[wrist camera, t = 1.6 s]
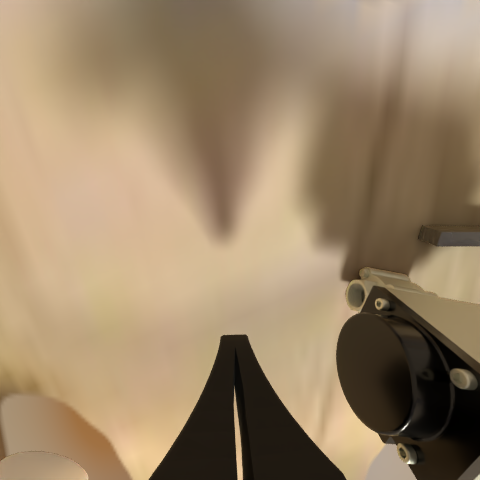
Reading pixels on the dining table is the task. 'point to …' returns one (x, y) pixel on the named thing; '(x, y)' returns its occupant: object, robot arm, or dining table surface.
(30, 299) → the dining table surface
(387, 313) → the pneumatic valve
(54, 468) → the base with upright slab
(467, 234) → the guide rails
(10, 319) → the dining table surface
